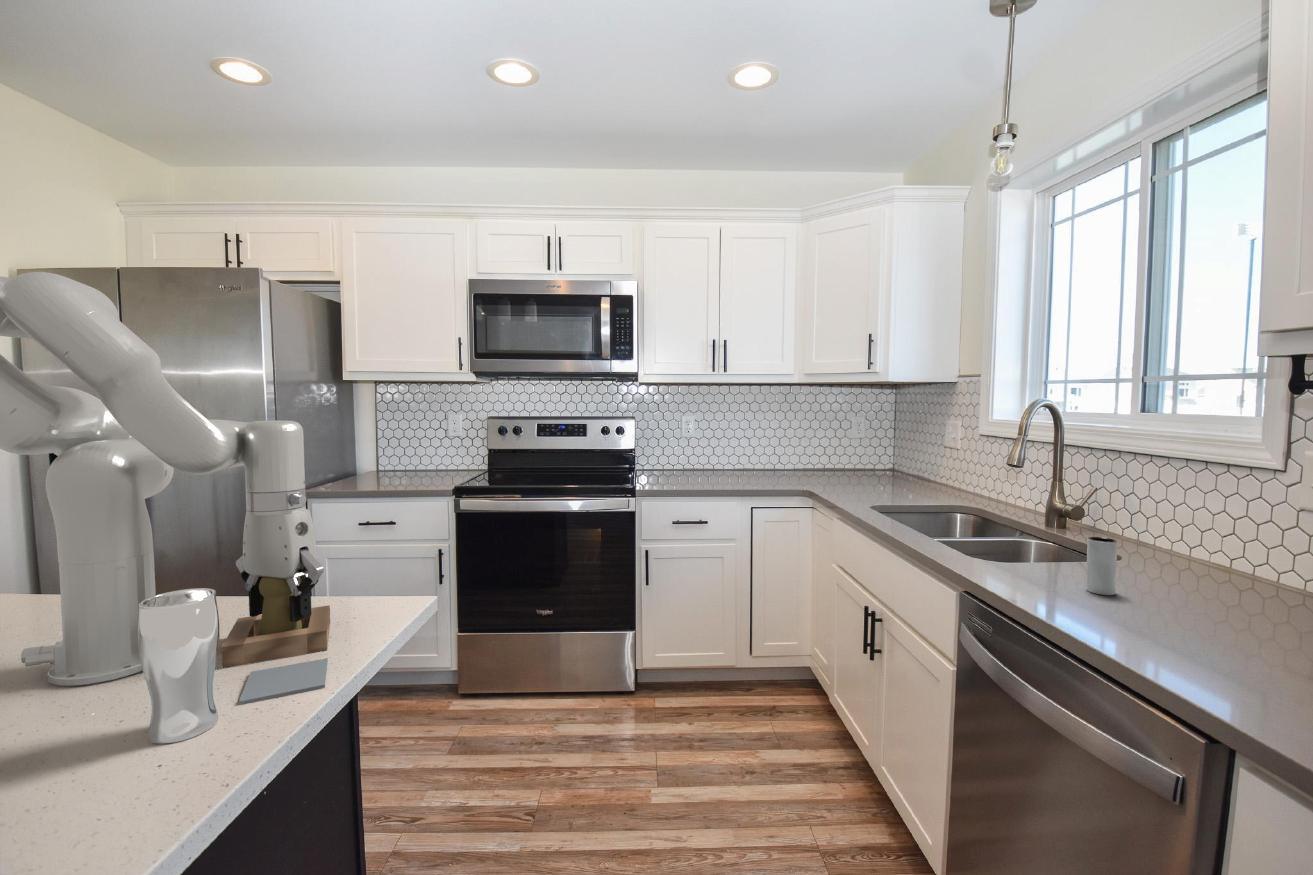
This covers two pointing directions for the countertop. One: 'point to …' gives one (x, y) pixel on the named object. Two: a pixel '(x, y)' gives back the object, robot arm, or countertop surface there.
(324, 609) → the wooden square frame
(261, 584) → the olive rounded peg
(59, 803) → the countertop surface
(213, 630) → the beer glass
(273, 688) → the rubber mat
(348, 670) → the countertop surface
